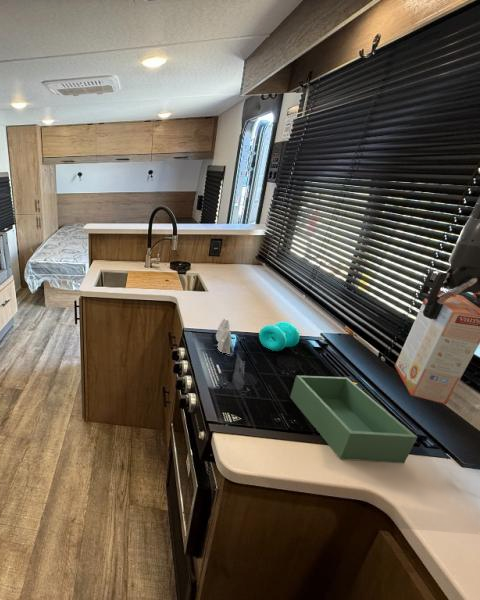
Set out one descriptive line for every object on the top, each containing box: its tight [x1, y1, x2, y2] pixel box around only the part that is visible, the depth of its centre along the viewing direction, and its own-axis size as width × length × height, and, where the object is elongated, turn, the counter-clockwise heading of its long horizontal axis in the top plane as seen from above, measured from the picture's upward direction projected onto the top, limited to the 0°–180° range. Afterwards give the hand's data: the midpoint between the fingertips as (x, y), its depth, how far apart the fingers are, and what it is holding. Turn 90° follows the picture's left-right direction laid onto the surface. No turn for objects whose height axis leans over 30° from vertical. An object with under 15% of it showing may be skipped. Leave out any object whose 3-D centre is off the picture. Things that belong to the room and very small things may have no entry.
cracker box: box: [394, 291, 480, 405], centre depth 68 cm, size 14×6×21 cm, turn 147°
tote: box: [289, 375, 418, 464], centre depth 79 cm, size 14×22×8 cm, turn 174°
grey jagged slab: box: [215, 317, 232, 355], centre depth 116 cm, size 12×4×11 cm, turn 163°
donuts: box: [258, 321, 301, 353], centre depth 115 cm, size 10×10×10 cm
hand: (450, 318), depth 65 cm, fingers closed on cracker box, 8 cm apart
